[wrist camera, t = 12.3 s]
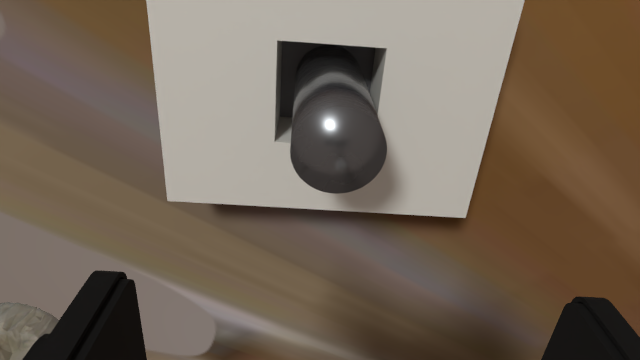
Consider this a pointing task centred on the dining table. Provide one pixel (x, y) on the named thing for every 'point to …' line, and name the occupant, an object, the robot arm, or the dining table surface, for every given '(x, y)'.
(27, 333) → the grey rough lump
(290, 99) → the bore block
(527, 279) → the dining table surface
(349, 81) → the metal pin
